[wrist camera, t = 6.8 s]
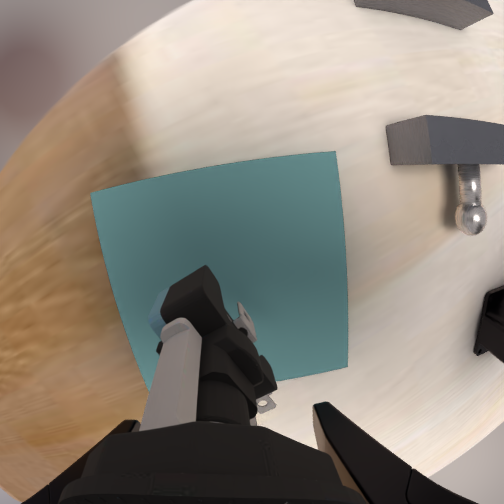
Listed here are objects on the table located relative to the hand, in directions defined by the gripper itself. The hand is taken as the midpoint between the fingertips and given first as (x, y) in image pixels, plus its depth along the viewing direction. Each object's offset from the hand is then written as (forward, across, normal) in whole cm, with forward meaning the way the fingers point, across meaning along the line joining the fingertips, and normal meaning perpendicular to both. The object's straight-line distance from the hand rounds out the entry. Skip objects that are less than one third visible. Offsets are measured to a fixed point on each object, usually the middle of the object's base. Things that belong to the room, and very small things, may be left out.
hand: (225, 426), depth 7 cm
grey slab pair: (+11, -16, -11) cm, 22 cm away
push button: (+5, 0, 0) cm, 5 cm away
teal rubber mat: (+11, 0, 0) cm, 11 cm away
